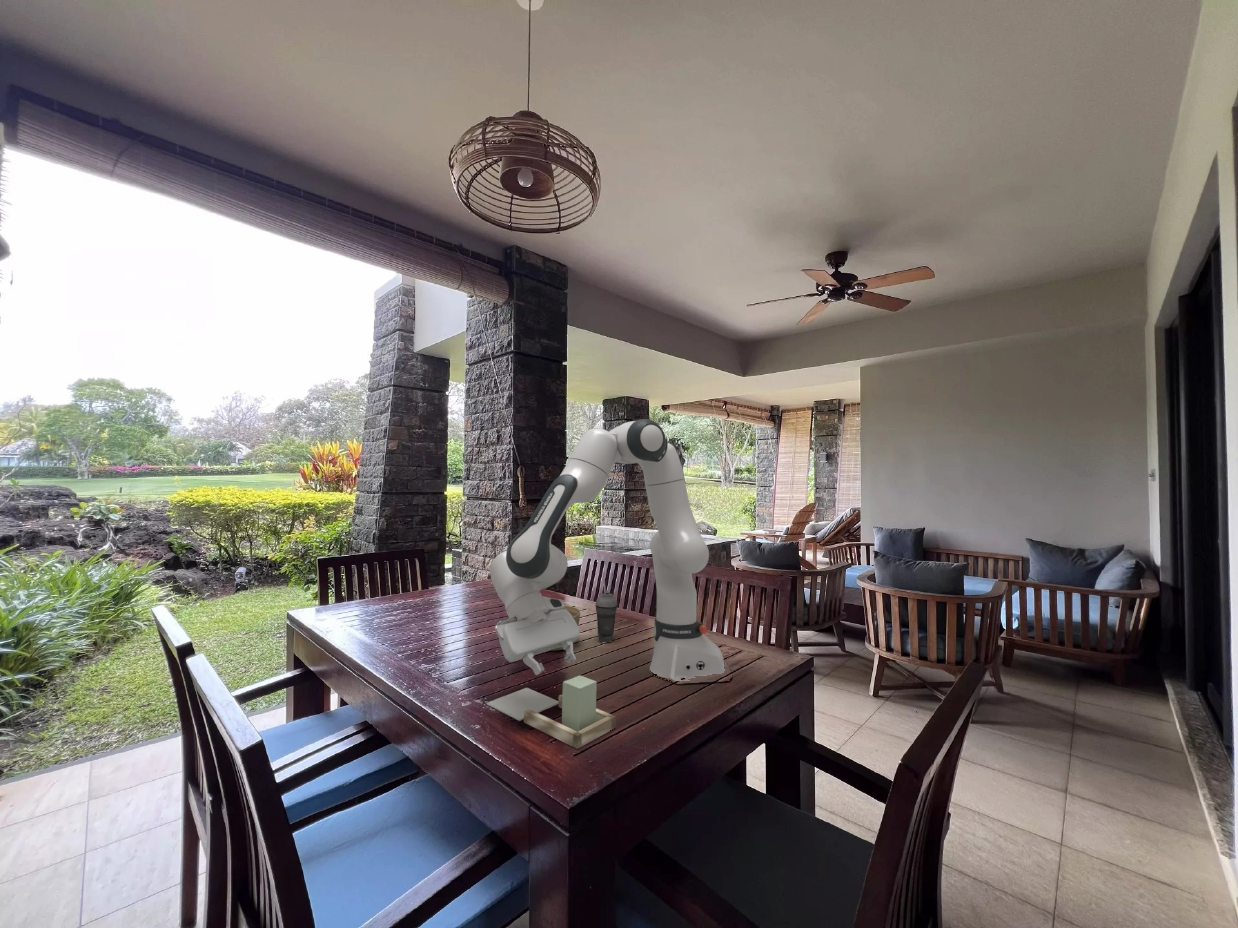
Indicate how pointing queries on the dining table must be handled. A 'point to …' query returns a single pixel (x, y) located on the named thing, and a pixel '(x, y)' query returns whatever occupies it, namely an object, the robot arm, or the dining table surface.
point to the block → (579, 703)
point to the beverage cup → (606, 615)
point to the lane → (567, 734)
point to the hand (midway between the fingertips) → (556, 667)
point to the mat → (522, 703)
